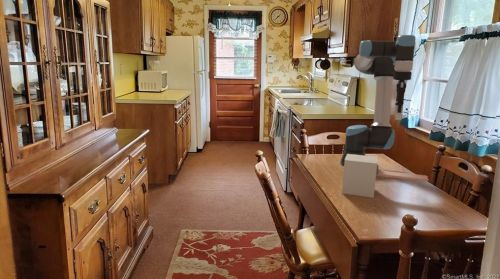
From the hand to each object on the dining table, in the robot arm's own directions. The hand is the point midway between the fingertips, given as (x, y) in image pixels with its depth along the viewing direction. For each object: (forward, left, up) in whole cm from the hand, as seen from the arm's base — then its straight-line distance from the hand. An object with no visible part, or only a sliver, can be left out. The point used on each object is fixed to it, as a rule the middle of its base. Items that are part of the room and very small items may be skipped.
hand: (397, 117), depth 170 cm
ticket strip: (+9, +2, -25) cm, 27 cm away
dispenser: (+9, -14, -35) cm, 38 cm away
